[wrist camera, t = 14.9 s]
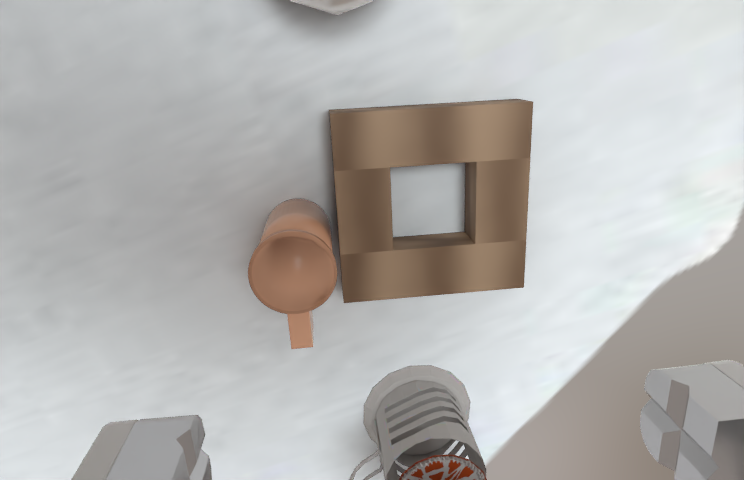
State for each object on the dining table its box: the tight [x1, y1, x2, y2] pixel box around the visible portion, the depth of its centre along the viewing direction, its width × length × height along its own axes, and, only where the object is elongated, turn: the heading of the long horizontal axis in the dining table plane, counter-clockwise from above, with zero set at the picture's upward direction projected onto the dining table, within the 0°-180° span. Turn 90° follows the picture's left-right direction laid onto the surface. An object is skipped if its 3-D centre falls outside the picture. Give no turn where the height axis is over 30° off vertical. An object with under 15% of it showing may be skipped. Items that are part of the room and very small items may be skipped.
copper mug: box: [248, 199, 337, 349], centre depth 37 cm, size 8×5×9 cm, turn 3°
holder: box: [329, 99, 533, 303], centre depth 39 cm, size 14×14×3 cm
